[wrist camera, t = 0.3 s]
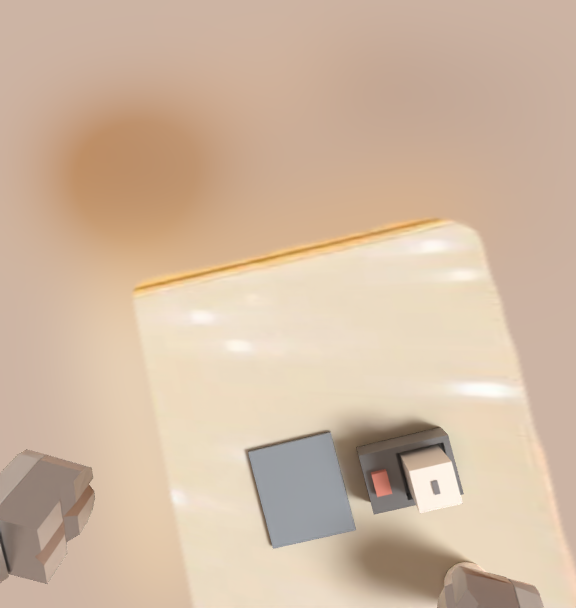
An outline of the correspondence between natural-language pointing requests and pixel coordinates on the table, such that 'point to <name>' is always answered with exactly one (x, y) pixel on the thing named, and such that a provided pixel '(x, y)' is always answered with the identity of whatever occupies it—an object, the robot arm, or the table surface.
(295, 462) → the rubber mat
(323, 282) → the table surface
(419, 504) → the block
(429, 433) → the power strip
